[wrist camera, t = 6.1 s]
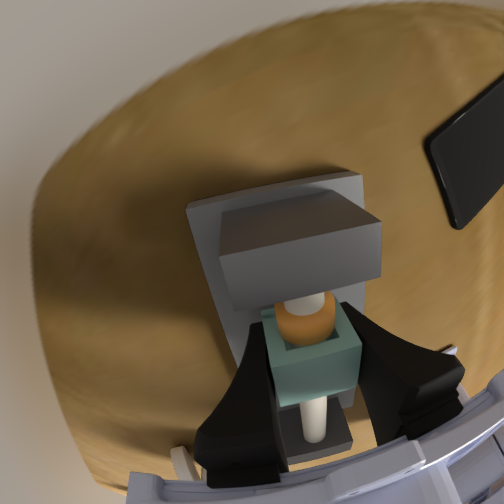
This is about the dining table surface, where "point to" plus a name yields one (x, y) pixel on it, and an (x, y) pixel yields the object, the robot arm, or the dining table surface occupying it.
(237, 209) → the rod and ring fixture
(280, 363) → the marker sleeve
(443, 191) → the smartphone
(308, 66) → the dining table surface
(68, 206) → the dining table surface
